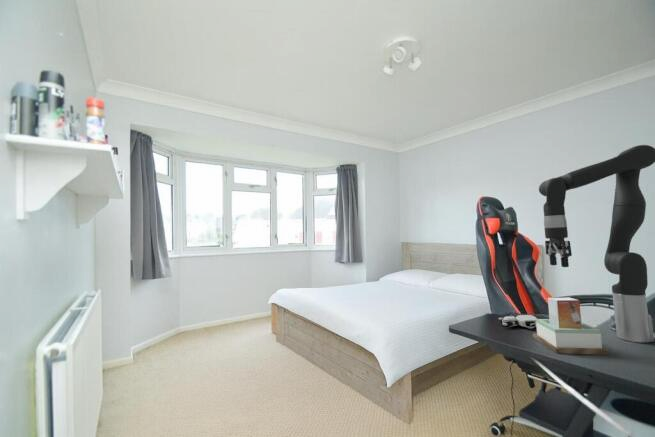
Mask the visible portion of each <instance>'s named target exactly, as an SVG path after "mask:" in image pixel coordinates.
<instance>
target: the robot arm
mask: <svg viewBox="0 0 655 437" xmlns="http://www.w3.org/2000/svg"><path fill="white" fill-rule="evenodd" d="M653 164H655V147H653V146H651V145H648V144H639V145H635V146H632V147H630V148H628V149H625V150H623V151H622V152H620V153H619V154H618V155H617V156H614V157H612V158H609V159H607V160H603V161H599V162H597V163H594V164H591V165H587V166H584V167H581V168H578V169H575V170H573V171H570V172H568V173H565V174H564V175H561V176H557V177H553V178H550V179H546V180H545V181H542V182H541V183H540V184H539V186H538V192H539V194H541V195H542V196H544V197H546V202H544V204H543V207H542V208H543V209H542V210H543V216H544V217H543V226H544V237H545V238H546V239H549V240H545V242H544V244H545V245H544V246H545V255H548V257H549V264H550V265H551V266H557V265H558V262H557V260H558V259H557V254H558V255H559V257H560V264H561V265H560V266H561V267H562V268H569V266H570V265H569V264H570V262H569V258H570V257H572V248H571V241H570V240H565V239H568V237H569V234H568V233H569V232H568V224H567V217H566V211H565V208H566V207H565V200H566V195H567V191H569V190H573V189H574V190H575V189H578V188H581V187H584V186H587V185H589V184H592V183H595V182H597V181H600V180H604V179H605V178H607V177H610V176H614V175H615V189H614V191H615V192H614V198H613V206H612V212H611V213H612V214H611V217H612V218H611V225H610V232H609V239H608V243H607V247H606V251H605V254H604V261H603V262H604V267H605V269H606V270H607V271H608V272H609V273H611V274H613V275H619V276H618V279H619V280H618V282H617V283H615V284H612V286H611V292H612V304H613V311H614V312H613V313H614V320H615V323H614V324H615V332H616V337H617V338H619V339H621V340H624V341H628V342H634V343H650V342H655V337H654V336H655V335H654V330H653V326H654V325H653V319H652V315H651V314H649V311H648V305H647V303H648V302H647V295H646V290H647V288H648V284H649V283H648V267H647V262H646V260H645V258H644V256H642V255H641V254H640V253H637V252H630V247H631V242H632V239H633V237H634V236H635V235H636V233H637V232H638V231H639V229H640V228H641V227H642V225H643V223H644V222H645V218H646V217H645V216H646V210H647V208H646V207H647V202H646V198H645V196H644V194H643V193H642V191H641V187H640V185H639V184H640V183H639V182H640V180H639V179H640V173H641V170H643V169H647V168H648V167H650V166H652V165H653Z"/></svg>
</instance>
